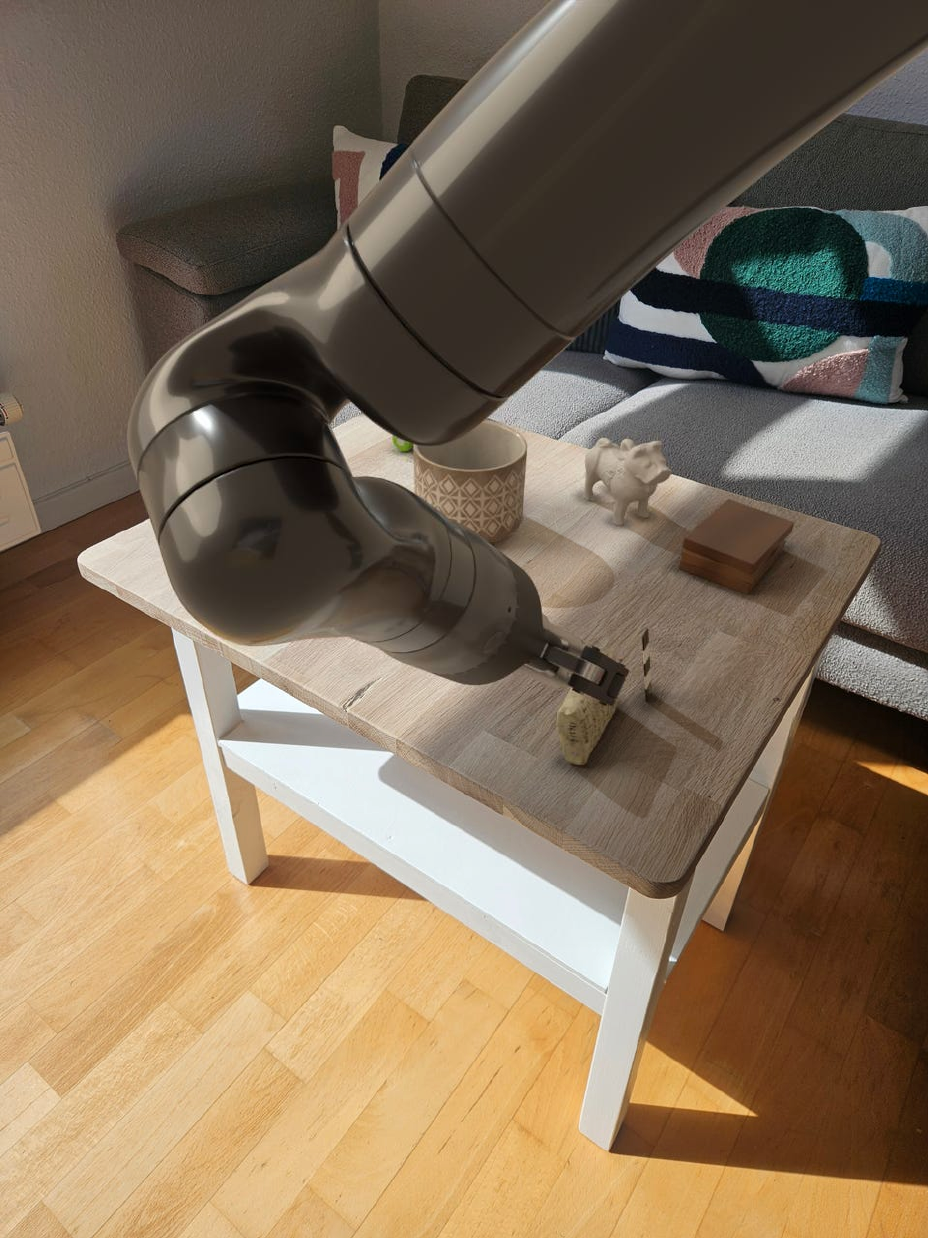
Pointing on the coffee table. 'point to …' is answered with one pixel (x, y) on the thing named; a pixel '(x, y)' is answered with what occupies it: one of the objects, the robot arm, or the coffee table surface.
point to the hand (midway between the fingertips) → (545, 656)
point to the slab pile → (735, 545)
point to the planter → (476, 479)
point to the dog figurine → (626, 473)
